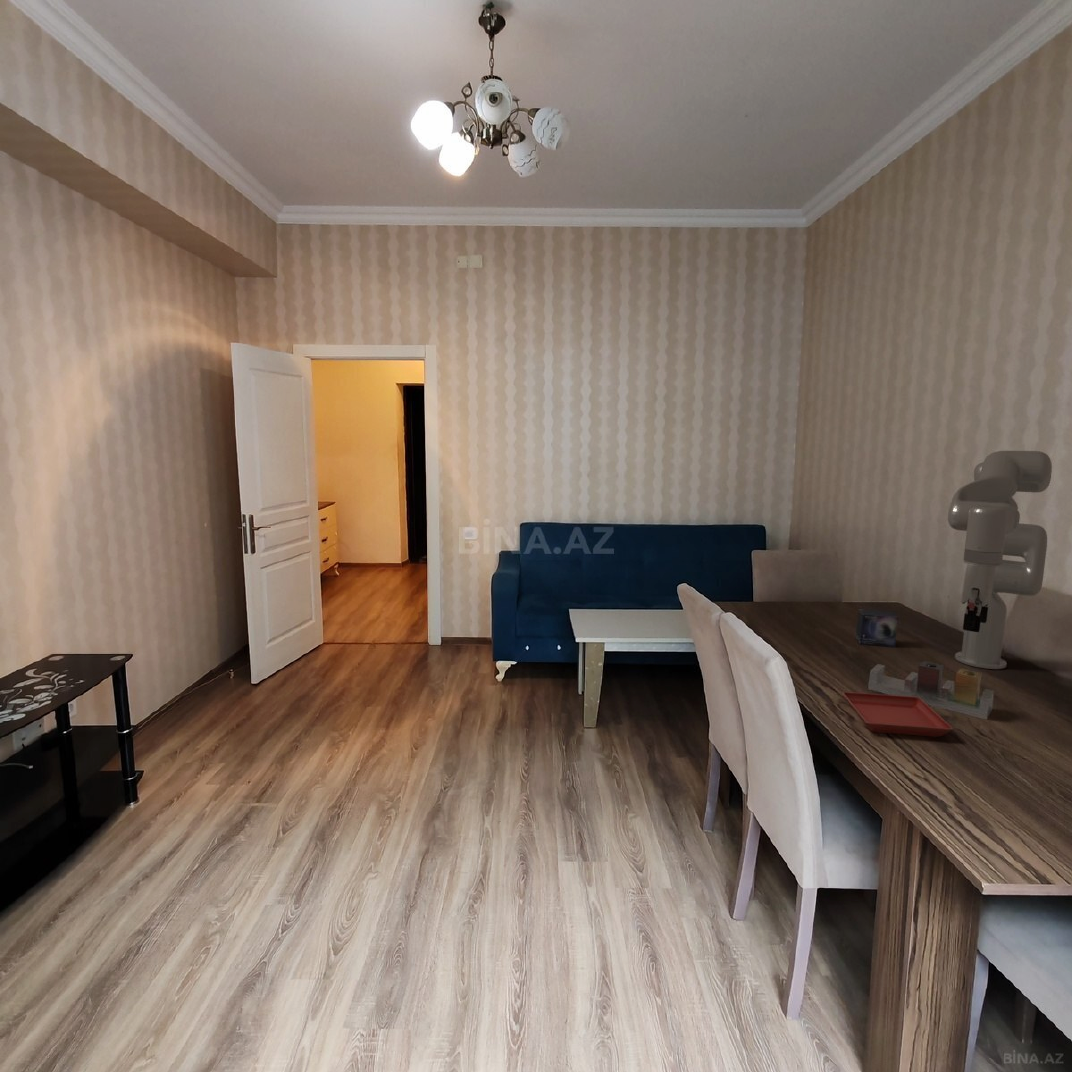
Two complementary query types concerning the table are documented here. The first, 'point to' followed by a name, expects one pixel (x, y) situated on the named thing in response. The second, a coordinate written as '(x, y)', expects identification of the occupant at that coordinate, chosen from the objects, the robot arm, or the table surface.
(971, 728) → the table surface
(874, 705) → the plant saucer
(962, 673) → the yellow tall block
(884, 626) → the small box
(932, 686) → the dark knobbed cube
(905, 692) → the rail
